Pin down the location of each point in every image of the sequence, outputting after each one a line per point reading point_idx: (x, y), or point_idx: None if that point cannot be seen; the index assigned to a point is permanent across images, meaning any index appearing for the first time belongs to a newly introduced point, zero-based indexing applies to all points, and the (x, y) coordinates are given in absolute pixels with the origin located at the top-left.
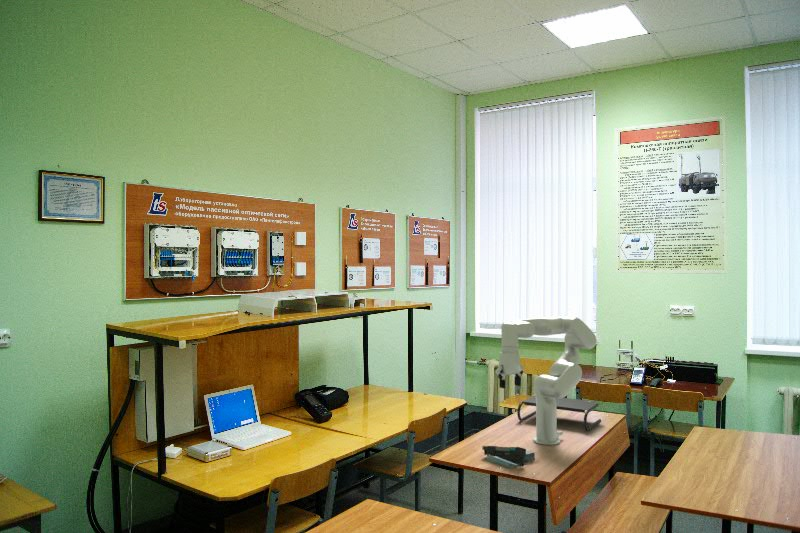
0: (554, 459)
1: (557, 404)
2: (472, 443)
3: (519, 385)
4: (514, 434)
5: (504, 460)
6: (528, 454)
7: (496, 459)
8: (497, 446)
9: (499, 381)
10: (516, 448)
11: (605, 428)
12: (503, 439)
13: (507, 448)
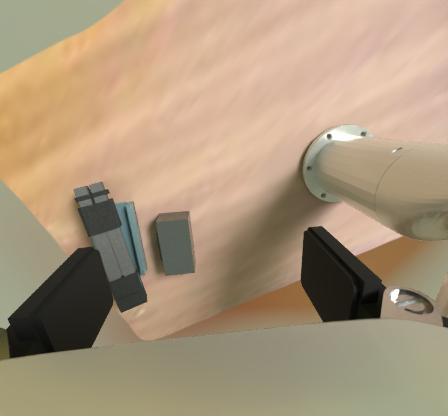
0: (239, 273)
1: None
2: (126, 48)
3: (304, 285)
4: (325, 43)
5: (124, 236)
6: (172, 273)
7: (93, 242)
8: (101, 233)
9: (39, 287)
10: (116, 301)
11: None
12: (251, 72)
13: (107, 274)
